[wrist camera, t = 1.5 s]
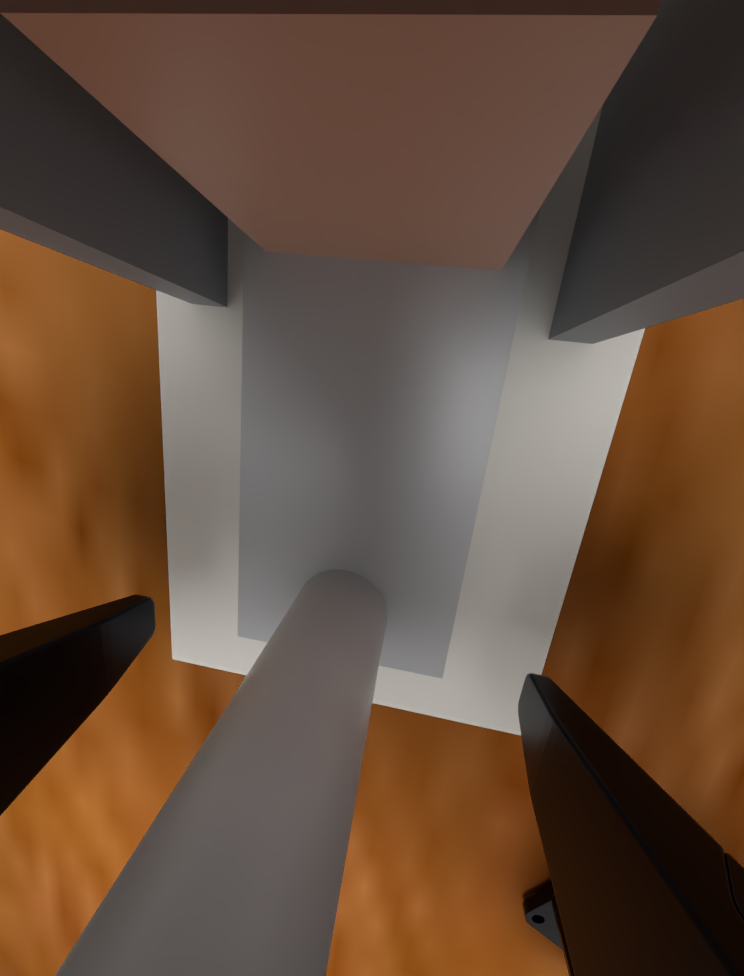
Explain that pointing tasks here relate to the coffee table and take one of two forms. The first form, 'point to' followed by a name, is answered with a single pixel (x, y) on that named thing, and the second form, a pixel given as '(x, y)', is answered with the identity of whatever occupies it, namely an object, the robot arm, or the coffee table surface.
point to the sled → (334, 391)
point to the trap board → (503, 502)
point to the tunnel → (598, 228)
